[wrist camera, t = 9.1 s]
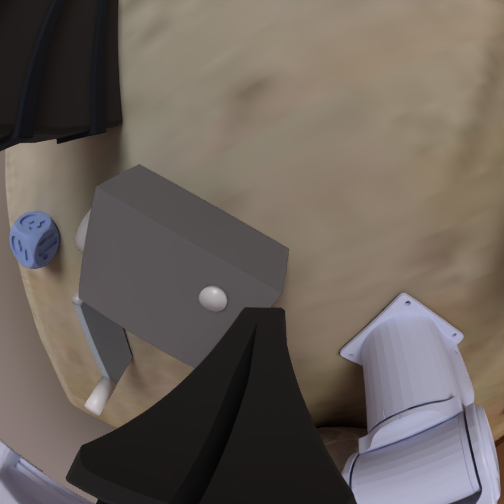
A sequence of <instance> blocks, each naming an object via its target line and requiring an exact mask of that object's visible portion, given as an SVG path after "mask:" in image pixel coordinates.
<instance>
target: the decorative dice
mask: <svg viewBox="0 0 504 504" xmlns="http://www.w3.org/2000/svg"><path fill="white" fill-rule="evenodd" d="M10 246H11V249H12V251H13V254H14V255H15V257H16V258H17V260H18V261H19V262H20V263H21V264H22V265H23V266H25V267H27V268H31V269H37V268H41V267H44V266H46V265H47V264H48V263H49V262H50V261H51V260H52V259H53V257H54V256H55V254H56V252H57V249H58V246H59V233H58V229H57V227H56V225H55V223H54V221H53V220H52V219H51V218H50V217H49V216H48V215H47V214H45V213H42V212H29V213H26V214H23V215H22V216H20V217H19V218H18V219H17V220H16V221H15V223H14V225H13V227H12V229H11V232H10Z"/></svg>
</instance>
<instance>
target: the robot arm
mask: <svg viewBox="0 0 504 504" xmlns="http://www.w3.org/2000/svg"><path fill="white" fill-rule="evenodd" d="M406 301H409V302H408V303H405V302H406ZM463 337H464V336H463V334H462V333H461V332H460V331H459V330H457V329H456V328H455V327H453V326H452V325H450V324H449V323H448V322H446V321H445V320H444V319H442V318H441V317H439V316H438V315H437V314H435V313H434V312H432V311H431V310H430V309H428V308H427V307H425V306H424V305H422V304H421V303H420V302H418V301H417V300H415V299H414V298H412V297H411V296H409V295H408V294H406V293H401V294H399V295H398V296H397V297H396V298H395V299H394V300H393V301H392V302H391V303H390V304H389V305H388V306H387V307H386V308H385V309H384V310H383V311H382V312H381V313H380V314H379V315H378V316H377V317H376V318H375V319H374V320H373V321H372V322H371V323H370V324H368V325H367V326H366V327H365V328H364V329H363V330H362V331H361V332H360V333H359V334H358V335H357V336H355V337H354V338H353V339H352V340H351V341H350V342H349V343H348V344H346V345H345V346H344V347H343V348H342V349H341V350H340V355H341V356H342V357H344V358H346V359H348V360H351V361H353V362H355V363H357V364H359V365H362V366H363V373H364V384H365V396H366V411H367V430H368V435H366V436H364V437H362V438H359V451H358V452H355V453H353V454H352V455H351V456H350V457H349V458H348V460H347V462H346V463H345V466H344V468H343V470H342V473H340V471H339V470H338V468H337V466H336V465H335V463H334V461H333V460H332V458H331V456H330V454H329V453H328V451H327V449H326V447H325V445H324V443H323V441H322V439H321V437H320V435H319V433H318V431H317V429H316V427H315V425H314V423H313V421H312V418H311V416H310V414H309V412H308V409H307V407H306V404H305V402H304V399H303V397H302V394H301V392H300V389H299V386H298V383H297V380H296V377H295V374H294V370H293V367H292V364H291V360H290V356H289V351H288V347H287V338H286V321H285V310H284V309H282V308H260V307H245V308H244V309H242V311H241V312H240V314H239V315H238V317H237V318H236V319H235V321H234V322H233V324H232V325H231V326H230V328H229V329H228V330H227V332H226V333H225V334H224V336H223V337H222V338H221V339H220V341H219V342H218V343H217V344H216V346H215V347H214V348H213V349H212V350H211V352H210V353H209V354H208V355H207V356H206V357H205V358H204V360H203V361H202V362H201V363H200V364H199V365H198V366H197V367H196V368H195V369H194V370H193V371H192V372H191V373H190V374H189V375H188V376H187V377H186V378H185V379H184V380H183V381H182V382H181V383H180V384H179V385H178V386H177V387H175V388H174V389H173V390H172V391H171V392H170V393H169V394H167V395H166V396H165V397H163V398H162V399H161V400H160V401H158V402H157V403H156V404H155V405H153V406H152V407H151V408H149V409H148V410H146V411H145V412H143V413H142V414H140V415H139V416H137V417H136V418H134V419H132V420H131V421H129V422H128V423H126V424H124V425H123V426H121V427H119V428H117V429H116V430H114V431H112V432H110V433H108V434H106V435H104V436H102V437H100V438H97V439H96V440H93V441H91V442H89V443H86V444H84V445H82V446H81V448H80V450H79V451H78V453H77V455H76V457H75V459H74V461H73V463H72V465H71V468H70V470H69V472H68V474H67V476H66V480H67V481H68V482H69V483H70V484H72V485H74V486H76V487H78V488H79V489H81V490H83V491H84V492H86V493H88V494H90V495H92V496H94V497H96V498H98V501H97V503H96V504H497V500H498V499H499V497H500V479H499V467H498V460H497V454H496V449H495V445H494V440H493V436H492V433H491V429H490V426H489V422H488V419H487V416H486V413H485V411H484V408H483V407H482V406H479V405H476V404H475V403H474V390H473V387H472V384H471V381H470V378H469V375H468V372H467V369H466V367H465V364H464V361H463V359H462V356H461V353H460V351H459V348H458V346H457V344H458V343H459V342H460V341H462V339H463ZM0 504H95V503H93V502H91V501H89V500H87V499H85V498H83V497H82V496H80V495H78V494H76V493H74V492H73V491H71V490H70V489H68V488H66V487H65V486H63V485H61V484H60V483H58V482H57V481H55V480H54V479H52V478H51V477H49V476H47V475H46V474H45V473H43V471H42V470H40V469H39V468H37V467H36V466H34V465H33V464H32V463H31V462H29V461H28V460H27V459H25V458H24V457H22V456H21V455H20V454H18V453H17V452H15V451H14V450H13V449H12V448H10V447H9V446H8V445H7V444H6V443H5V442H3V441H2V440H1V439H0Z"/></svg>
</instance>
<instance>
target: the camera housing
mask: <svg viewBox="0 0 504 504" xmlns="http://www.w3.org/2000/svg"><path fill="white" fill-rule="evenodd" d="M75 246H76V248H77V249H78V250H79V251H81V252H82V253H83V258H82V266H81V274H80V284H79V294H78V298H79V299H81V300H82V301H84V302H85V303H86V304H88V305H89V306H91V307H92V308H94V309H95V310H97V311H98V312H100V313H101V314H103V315H104V316H106V317H107V318H109V319H110V320H112V321H113V322H115V323H116V324H118V325H120V326H121V327H123V328H124V329H126V330H128V331H129V332H131V333H132V334H134V335H136V336H137V337H139V338H141V339H142V340H144V341H146V342H148V343H149V344H151V345H153V346H155V347H156V348H158V349H160V350H162V351H163V352H165V353H167V354H169V355H171V356H173V357H174V358H176V359H178V360H180V361H182V362H184V363H186V364H188V365H190V366H192V367H194V368H196V367H197V366H198V365H199V364H200V363H201V362H202V361H203V360H204V358H205V357H206V356H207V355H208V354H209V353H210V352H211V350H212V349H213V348H214V347H215V346H216V344H217V343H218V342H219V341H220V339H221V338H222V337H223V336H224V334H225V333H226V332H227V330H228V329H229V328H230V326H231V325H232V324H233V322H234V321H235V319H236V318H237V317H238V315H239V314H240V312H241V311H242V309H244V308H245V307H260V308H271V306H272V305H273V304H274V303H275V301H276V300H277V299H278V298H279V297H280V295H281V294H282V292H283V285H284V279H285V272H286V266H287V259H288V252H289V249H288V248H287V247H285V246H283V245H282V244H280V243H278V242H276V241H275V240H273V239H271V238H270V237H268V236H266V235H264V234H263V233H261V232H259V231H257V230H256V229H254V228H252V227H251V226H249V225H247V224H245V223H244V222H242V221H240V220H238V219H237V218H235V217H233V216H231V215H230V214H228V213H226V212H224V211H222V210H221V209H219V208H217V207H215V206H214V205H212V204H210V203H208V202H207V201H205V200H203V199H201V198H199V197H198V196H196V195H194V194H192V193H190V192H189V191H187V190H185V189H183V188H181V187H180V186H178V185H176V184H174V183H172V182H171V181H169V180H167V179H165V178H163V177H162V176H160V175H158V174H156V173H154V172H152V171H151V170H149V169H147V168H145V167H143V166H141V165H140V164H139V165H137V166H135V167H133V168H131V169H129V170H127V171H125V172H123V173H121V174H119V175H117V176H115V177H113V178H111V179H109V180H107V181H105V182H103V183H101V184H99V185H97V186H96V189H95V193H94V197H93V202H92V207H91V209H90V210H89V211H88V212H87V214H86V215H85V216H84V218H83V220H82V221H81V223H80V225H79V228H78V230H77V233H76V238H75Z"/></svg>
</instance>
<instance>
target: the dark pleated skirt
mask: <svg viewBox="0 0 504 504" xmlns="http://www.w3.org/2000/svg"><path fill="white" fill-rule="evenodd" d="M117 8H118V0H0V151H2V150H4V149H7V148H9V147H11V146H14V145H16V144H19V143H36V142H41V141H46V140H52V139H57V144H60V143H63V142H67V141H71V140H75V139H79V138H83V137H87V136H92V135H96V134H101V133H105V132H106V128H108V127H113V126H118V125H119V124H120V123H121V122H122V116H121V105H120V93H119V78H118V55H117Z"/></svg>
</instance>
